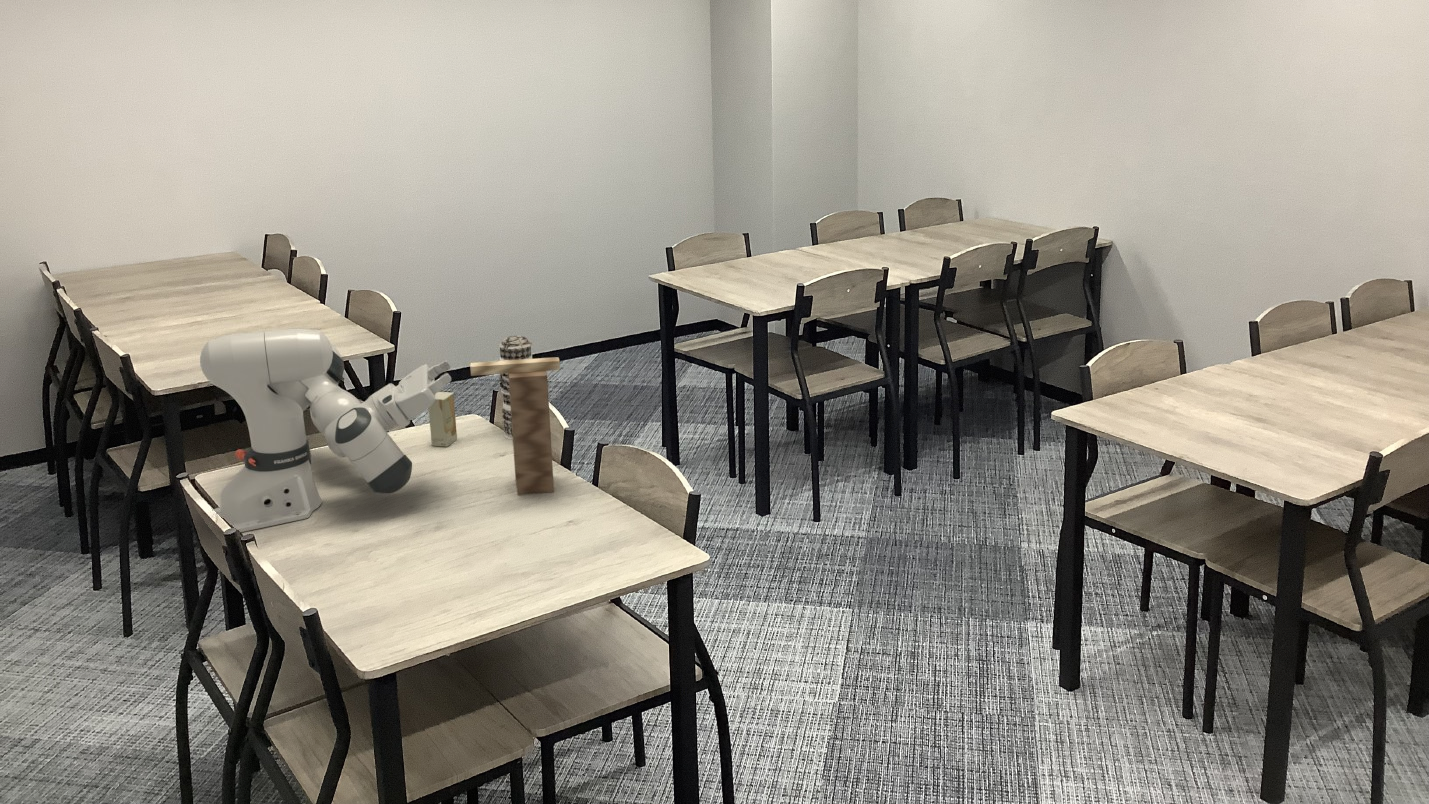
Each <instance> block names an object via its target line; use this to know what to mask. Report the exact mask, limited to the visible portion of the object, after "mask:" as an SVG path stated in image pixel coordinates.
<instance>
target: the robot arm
mask: <svg viewBox="0 0 1429 804" xmlns="http://www.w3.org/2000/svg"><path fill="white" fill-rule="evenodd" d="M344 363H345V362H344V359H343V358H342V355H341V354H340V352H339V350H338V348H336V347H335V346H334V345H333V344H331V341H330V339H329V338H328V337H327V336H326V335H325V334H324V333H323V332H322V331H321V330H319V329H311V328H310V329H309V328H284V329H272V330H261V331H252V332H240V333H230V334H225V335H223V336H222V335H221V336H219V337H215V338H212V339H209V340H208V341H207V342H206V343H205V344H204V346H203V347H202V349H201V352H200V358H199V364H200V367H201V368H200V369H201V371H202V374H203V375H204V377H205V378H206V379H207V381H208V382H209V383H211V384H212V385H214V386H216V387H217V388H219V389H221V390H223V391H225V393H227V394H229V395H230V396H231V397H232V398H233V399H234V400H235V401H236V402H237V404H238V405H239V406H240V408H241V410H242V412H243V415H244V416H245V420H246V424H247V427H248V433H249V438H250V445H251V446H250V448H249V449H248V450H247V452H246V450H243V449H241V448H240V449H237V450H236V452H235V458H237V459H238V460H240V461H243V463H244V467H242V468H241V470H239V472H238V473H236V474H235V476H233V478H231V479H230V481H228V482H227V483H226V485H224V486H223V488H222V490H221V493H220V507H219V506H218V507H217V508H214V509H213V510H214V511H215V512H216V513H217V514H219V516H221V517H222V518H224V519H225V520H226V521H227V522H228V523H229V524H230V525H232V526H233V527H234V528H236V529H237V530H239V531H240V532H239V533H243V532H248V531H254V530H257V529H263V528H267V527H271V526H277V525H281V524H287V523H291V522H296V521H300V520H305V519H307V518H309V517H310V516H311V515H312V513H313V512H314V511H315V510H316V509H318V508H319V507H320V506H321V505H322V504H323V498H322V497H321V495H320V492H319V491H318V488H317V484H316V482H315V478H314V474H313V470H312V466H311V464H312V453H311V452H312V451H311V447H310V443H309V440H308V439H307V436H306V427H305V421H304V420H305V419H304V411H306V409H309V414H310V418H311V421H312V423H313V425H314V426H315V428H316V429H317V430H318V431H319V433H321V434H322V435H323V436H324V439H325V443H326V444H327V446H328V448H329V449H330V451H331V452H332V453H334V454H335V456H337V457H340V458H343V457H344V458H345V457H346V459H348V460H349V462H350V464H352V466H354V468H355V469H356V470H357V472H358V473H359V474H360V476H361V477H362V478H363V479H364V480H365V482H366V484H367V485H368V487H370V489H371V490H372V492H373V493H377V494H393V493H396V492H398V491H399V490H401V489H402V488H404V487H405V486H406V485H407V483H408V482H409V481H410V480H411V479H410V478H411V475H412V471H413V462H412V460H411V459H410V458H409V457H408V456H407V455H406V454H405V453H404V452H403V451H402V449H401V448H400V447H399V446H398V445H397V444H396V442H395V441H394V440H393V438H392V437H391V435H389V433H388V432H390V431H393V430H395V429H397V428H398V427H399V428H400V429H404V428H406V427H407V426H408V425H410V424H411V420H413V419H415V418H417V416H420V415H421V414H422V413H424V412H425V411H426V410H429V407H430V406H431V405H432V404H433V403H434V402H435V394H436V393H437V392H441V390H442V389H443V388H444V387H445V386H446V385H448V384H449V383H451V381H452V377H451V375H450V374H449V373H448V372H447V371H449V370H450V369H451V364H450V363H449V361H448V360H444V361H442V362H440V363H439V364H435V365H433V366H431V367H430V366H429V364H427V363H425V364H422V365H420V366H418V367H417V368H416V369H414V370H413V371H411V372H410V373H408V374H407V375H406V376H404V377H403V378H402V379H401V380H400V381H399V383H398V385H394V384H393V383H392V382H391V383H388V384H387V385H385V386H383V387H382V388H380V389H378V390H377V391H375V392H374V393H372V394H370V395H369V396H368V398H367V399H366V400H365V401H363V402H361V401H360V400H359V399H358V398H357V396H356V397H355V395H353V394H352V393H351V392H348V391H347V390H345V389H343V388H342V387H340V386H339V383H340V381H342V382H344V381H345V378H344V377H343V375H344V371H345V364H344ZM442 373H444V374H442ZM440 374H442V375H440ZM439 375H440V376H439ZM438 376H439V378H438V379H436V380H435V378H437V377H438Z"/></svg>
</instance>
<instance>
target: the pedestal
mask: <svg viewBox="0 0 1429 804" xmlns="http://www.w3.org/2000/svg"><path fill="white" fill-rule="evenodd" d="M508 377H509V392H510V406H511V421H512V436H513V440H512V448H513V449H512V450H513V462H514V463H513V464H514V477H515V485H516V494H517V496H521V495H523V494H524V495H532V494H533V493H535V494H543V493H545V492H547V493H554V492H555V487H554V486H555V485H554V471H553V469H554V468H553V453H552V434H551V419H550V418H551V417H550V401H549V385H548V373H547V371H534V372H520V373H508ZM545 494H546V493H545ZM524 495H523V496H524ZM533 495H534V494H533Z"/></svg>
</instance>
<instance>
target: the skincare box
mask: <svg viewBox="0 0 1429 804" xmlns="http://www.w3.org/2000/svg"><path fill="white" fill-rule="evenodd" d="M455 409H456V407H455V395H454V392H447V391H439V392H437V393H436V394H435V402H434V403H433V404H432V405H431V406H430V407H429V408H428V415H429V417H428V418H429V429H430V439H431V440H430V441H431V446H434V447H445V448H446V447H448V446H450V445H452V444H453V443H454V442H455V441H456V440H458V434H457V433H458V432H457V423H456V422H457V421H456V420H457V419H456V410H455Z"/></svg>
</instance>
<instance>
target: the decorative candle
mask: <svg viewBox="0 0 1429 804" xmlns="http://www.w3.org/2000/svg"><path fill="white" fill-rule="evenodd" d="M532 344H533V342H531V341H530V340H528V338H527V337H526V336H523V335H522V336H521V335H511V336H505V338H503V339H502V341H501V342H500V343H499V344H498V347H499V360H498V361H508V360H523V359H533V354H532V348H531V346H533V345H532ZM498 379H499V387H500V388H501V389H500V392H501V394H502V400H503V401H502V410H501V411H502V414H503V415H502V419H504V420H503V421H502V424H503V427H502V428H503V431H504V433H503V436H504V437H505V439H507V440H511V441H513V436H512V421H511V406H510V392H509V377H508V373H505V374H499V377H498Z"/></svg>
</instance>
